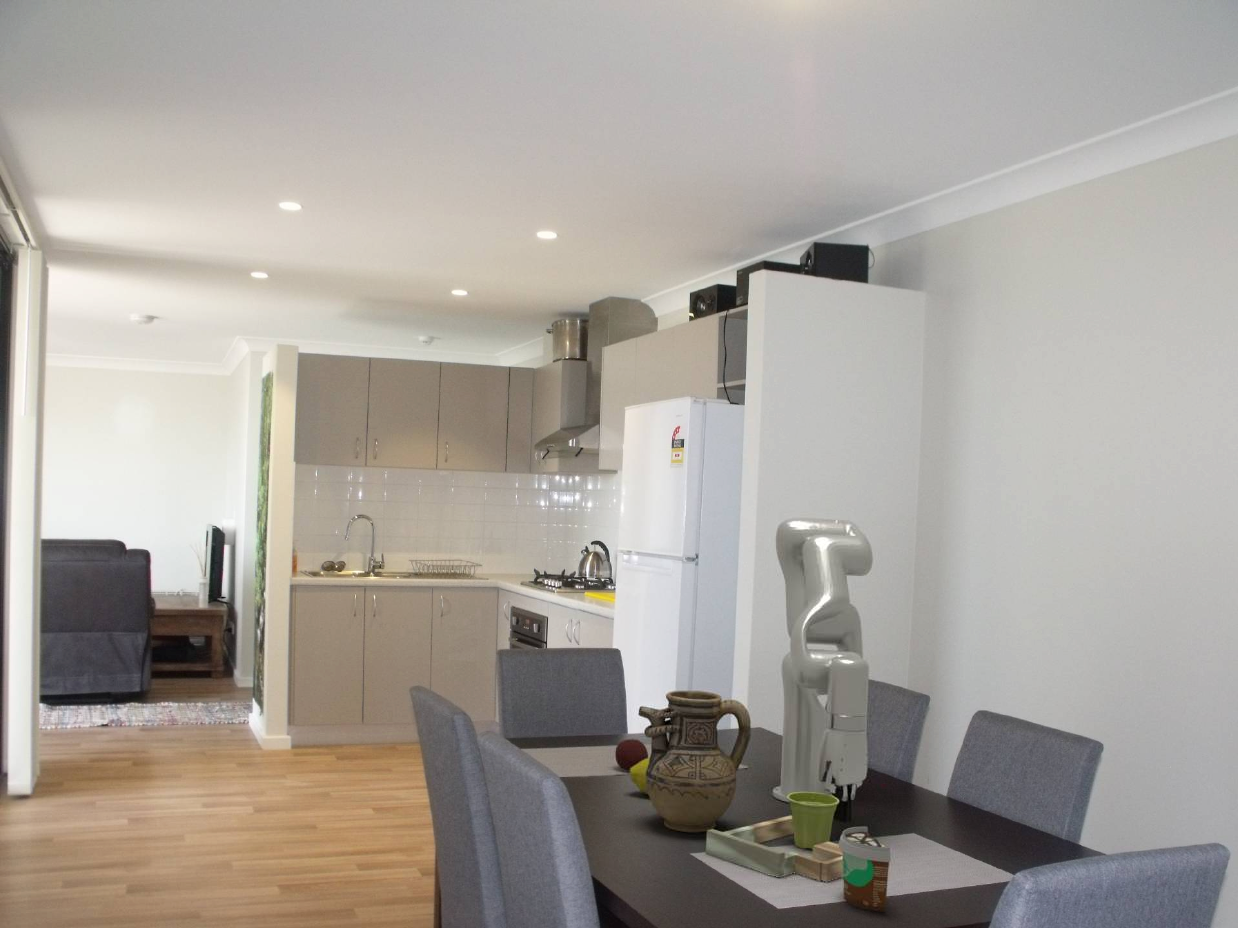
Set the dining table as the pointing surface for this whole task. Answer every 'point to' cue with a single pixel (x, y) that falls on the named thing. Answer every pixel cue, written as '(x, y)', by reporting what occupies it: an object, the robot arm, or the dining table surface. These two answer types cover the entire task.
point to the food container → (864, 869)
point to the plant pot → (812, 817)
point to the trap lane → (774, 851)
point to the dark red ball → (630, 753)
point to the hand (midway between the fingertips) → (842, 820)
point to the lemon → (640, 775)
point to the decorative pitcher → (693, 759)
